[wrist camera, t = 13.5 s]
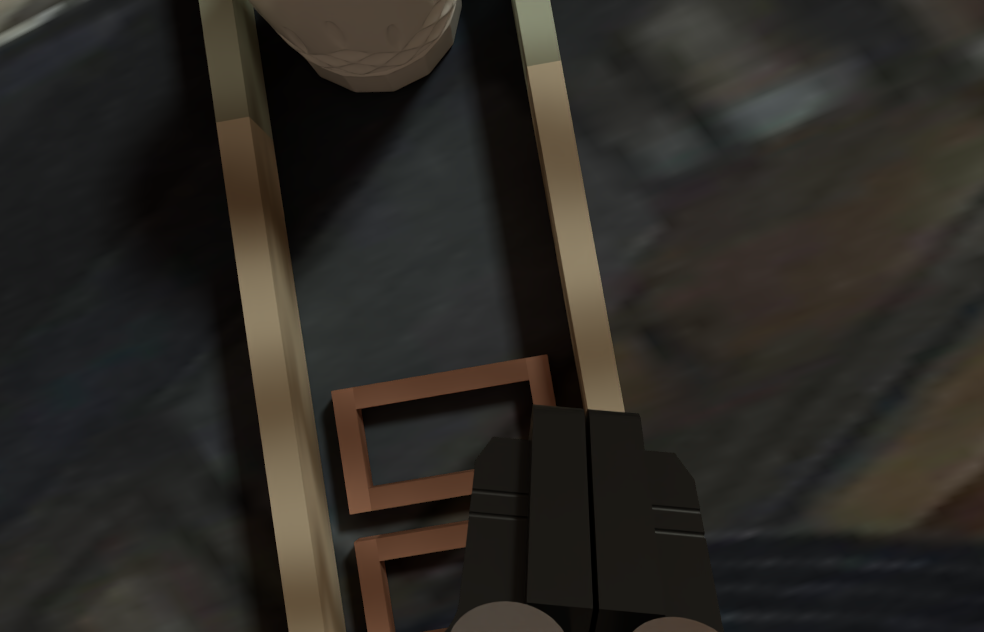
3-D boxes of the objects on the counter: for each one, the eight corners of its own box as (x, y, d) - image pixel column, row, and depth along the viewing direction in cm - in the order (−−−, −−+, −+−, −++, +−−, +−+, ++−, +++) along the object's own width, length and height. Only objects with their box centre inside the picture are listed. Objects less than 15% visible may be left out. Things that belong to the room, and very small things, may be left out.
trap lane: (660, 650, 33) (672, 675, 30) (323, 704, 34) (303, 734, 31) (509, -183, 36) (507, -235, 33) (203, -125, 37) (174, -171, 34)
